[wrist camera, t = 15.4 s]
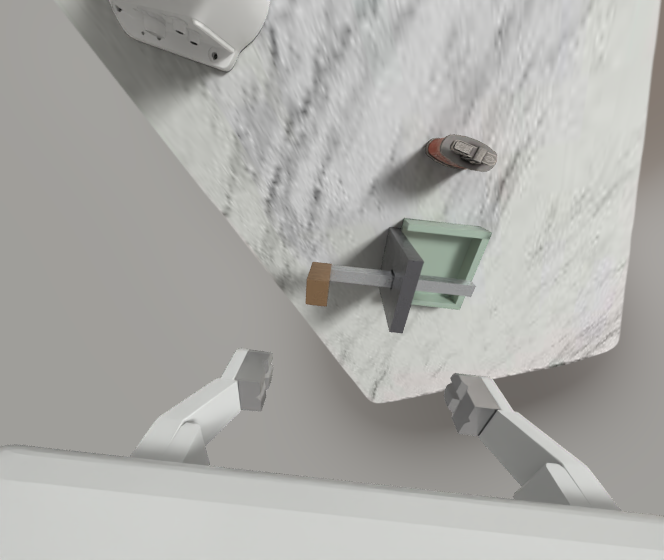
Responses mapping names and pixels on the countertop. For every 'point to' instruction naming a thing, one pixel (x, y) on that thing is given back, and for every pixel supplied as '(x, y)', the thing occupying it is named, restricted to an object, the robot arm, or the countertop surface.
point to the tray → (445, 255)
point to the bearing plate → (399, 278)
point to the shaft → (374, 281)
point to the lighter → (461, 153)
